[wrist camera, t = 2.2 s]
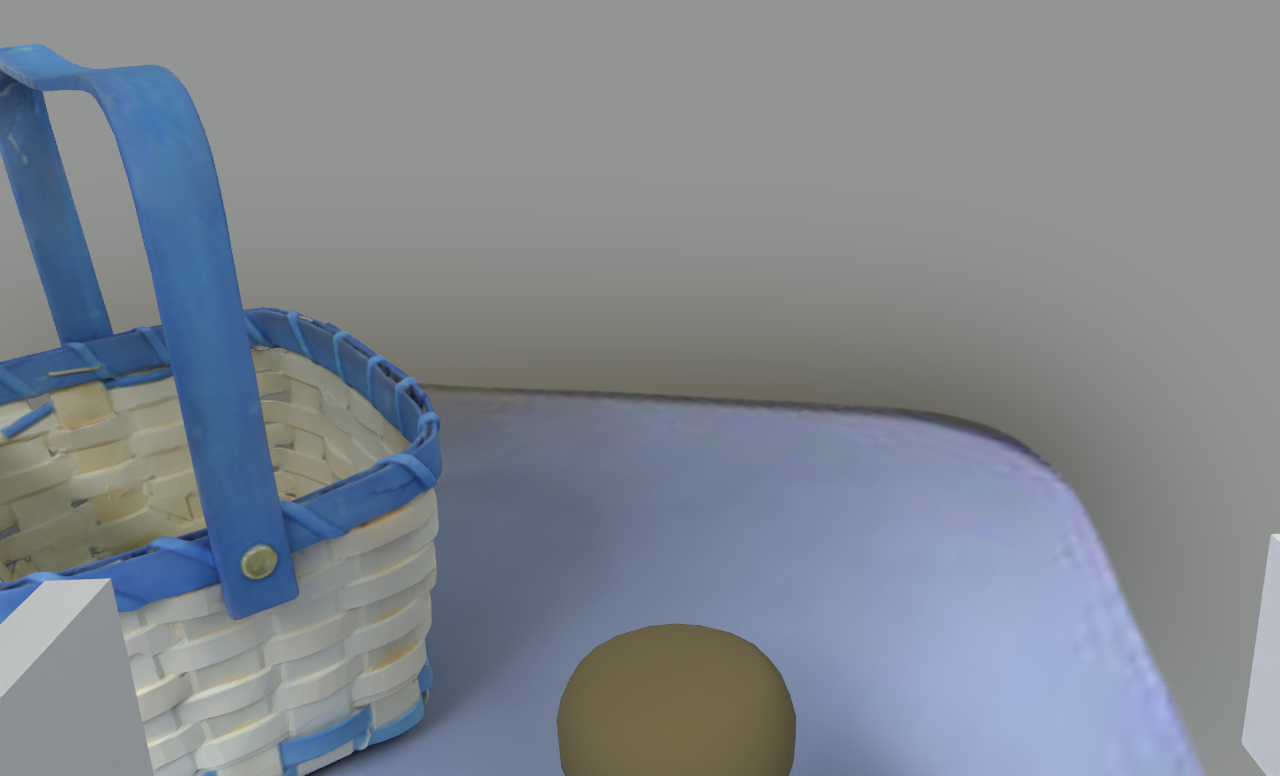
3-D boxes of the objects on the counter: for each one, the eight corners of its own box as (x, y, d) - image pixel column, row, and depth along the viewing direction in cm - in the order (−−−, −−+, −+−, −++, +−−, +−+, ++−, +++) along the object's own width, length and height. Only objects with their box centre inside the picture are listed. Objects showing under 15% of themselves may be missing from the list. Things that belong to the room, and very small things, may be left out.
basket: (-67, 672, 46) (-241, 58, 38) (331, 551, 55) (254, 29, 47) (-2, 1033, 30) (-282, 91, 22) (552, 781, 38) (491, 36, 30)
